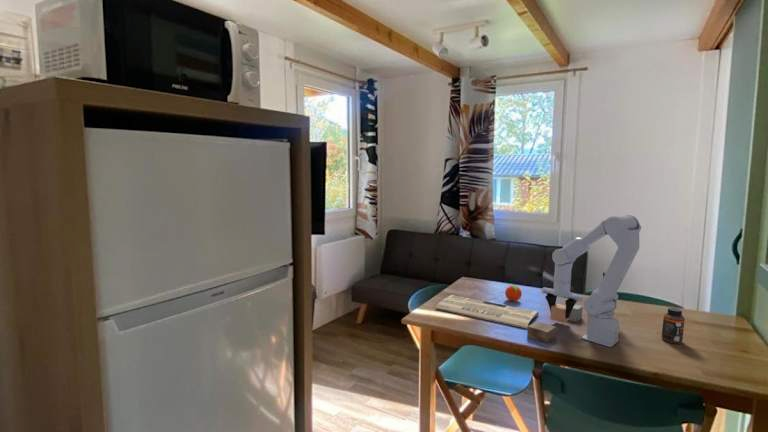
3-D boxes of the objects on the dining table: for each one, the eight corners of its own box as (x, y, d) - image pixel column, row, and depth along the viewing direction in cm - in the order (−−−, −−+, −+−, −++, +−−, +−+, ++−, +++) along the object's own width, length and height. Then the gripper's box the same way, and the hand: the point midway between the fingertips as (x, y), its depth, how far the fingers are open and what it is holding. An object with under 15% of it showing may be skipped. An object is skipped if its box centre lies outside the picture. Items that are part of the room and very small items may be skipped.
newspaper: (538, 316, 167) (538, 309, 167) (525, 332, 151) (526, 325, 151) (452, 299, 187) (453, 293, 186) (433, 311, 171) (434, 305, 170)
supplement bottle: (682, 345, 140) (686, 313, 139) (661, 341, 143) (664, 310, 142) (681, 339, 145) (684, 308, 144) (661, 335, 148) (664, 305, 147)
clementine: (524, 304, 179) (525, 288, 178) (508, 304, 179) (508, 288, 178) (518, 298, 187) (519, 283, 186) (502, 298, 187) (503, 282, 186)
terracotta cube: (569, 319, 158) (570, 306, 157) (563, 322, 154) (564, 309, 153) (556, 315, 161) (556, 303, 160) (550, 319, 158) (551, 306, 157)
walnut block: (555, 337, 145) (556, 326, 145) (546, 343, 140) (547, 332, 140) (536, 331, 150) (537, 321, 150) (527, 337, 145) (527, 326, 145)
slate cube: (581, 318, 164) (582, 306, 163) (576, 321, 161) (577, 309, 160) (568, 315, 168) (569, 303, 167) (563, 318, 164) (564, 306, 164)
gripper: (586, 282, 153) (584, 318, 155) (548, 274, 164) (546, 308, 165) (579, 286, 148) (576, 323, 150) (539, 278, 159) (537, 312, 160)
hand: (560, 315), depth 157 cm, fingers closed on terracotta cube, 5 cm apart
